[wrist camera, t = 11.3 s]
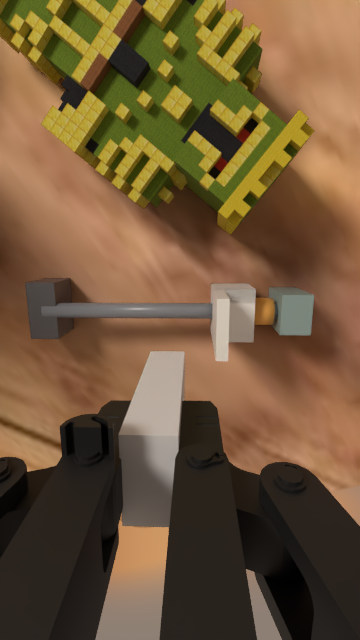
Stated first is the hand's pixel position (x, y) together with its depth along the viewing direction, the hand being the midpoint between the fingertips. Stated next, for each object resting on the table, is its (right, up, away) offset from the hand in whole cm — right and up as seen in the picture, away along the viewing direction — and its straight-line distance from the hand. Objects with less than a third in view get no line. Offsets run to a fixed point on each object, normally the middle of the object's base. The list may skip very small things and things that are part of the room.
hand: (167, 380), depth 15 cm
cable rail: (-1, +5, +24) cm, 25 cm away
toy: (-3, +25, +20) cm, 32 cm away
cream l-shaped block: (+6, +4, +22) cm, 24 cm away
